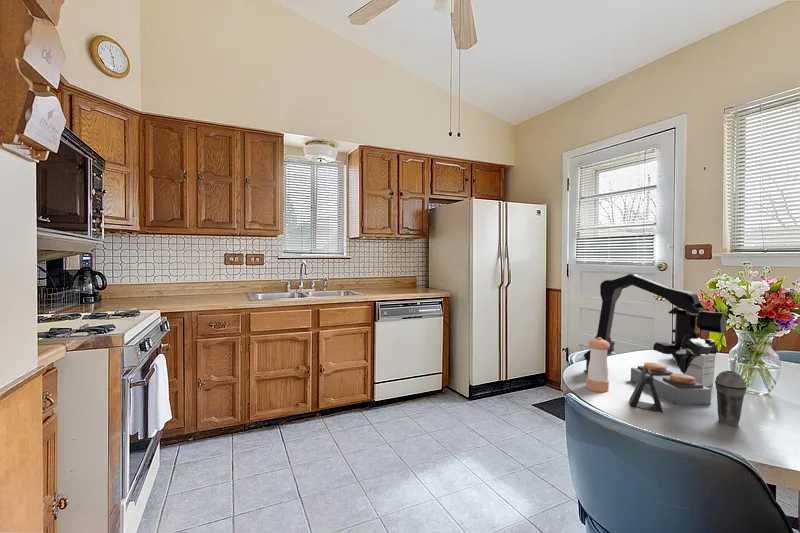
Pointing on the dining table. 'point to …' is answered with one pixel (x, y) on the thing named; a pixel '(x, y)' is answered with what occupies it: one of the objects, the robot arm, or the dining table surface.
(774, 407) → the dining table surface
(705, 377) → the supplement box
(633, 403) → the phone stand
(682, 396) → the socket block
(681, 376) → the pin right
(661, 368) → the pin left
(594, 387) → the salt shaker
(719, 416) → the beverage cup
